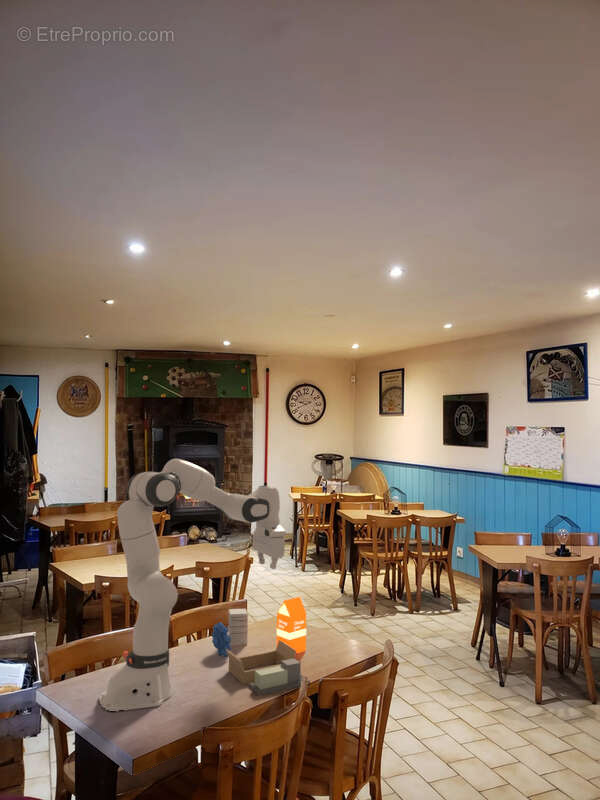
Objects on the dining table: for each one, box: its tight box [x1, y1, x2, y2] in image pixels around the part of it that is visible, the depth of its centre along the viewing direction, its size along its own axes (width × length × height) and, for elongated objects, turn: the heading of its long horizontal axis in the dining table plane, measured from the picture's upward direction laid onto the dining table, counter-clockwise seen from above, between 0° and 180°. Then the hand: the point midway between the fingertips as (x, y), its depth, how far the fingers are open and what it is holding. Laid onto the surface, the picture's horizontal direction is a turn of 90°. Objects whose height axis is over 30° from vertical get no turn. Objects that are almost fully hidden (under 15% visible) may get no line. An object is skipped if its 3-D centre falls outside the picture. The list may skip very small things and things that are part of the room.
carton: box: [226, 640, 296, 685], centre depth 215 cm, size 22×13×8 cm, turn 119°
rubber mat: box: [248, 673, 311, 696], centre depth 204 cm, size 19×8×1 cm, turn 120°
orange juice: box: [276, 596, 307, 654], centre depth 238 cm, size 8×9×20 cm
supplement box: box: [227, 608, 249, 647], centre depth 246 cm, size 7×7×13 cm
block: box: [255, 658, 301, 689], centre depth 204 cm, size 15×4×6 cm, turn 120°
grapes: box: [211, 621, 233, 657], centre depth 231 cm, size 12×7×12 cm, turn 40°
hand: (267, 566), depth 227 cm, fingers open, 8 cm apart
